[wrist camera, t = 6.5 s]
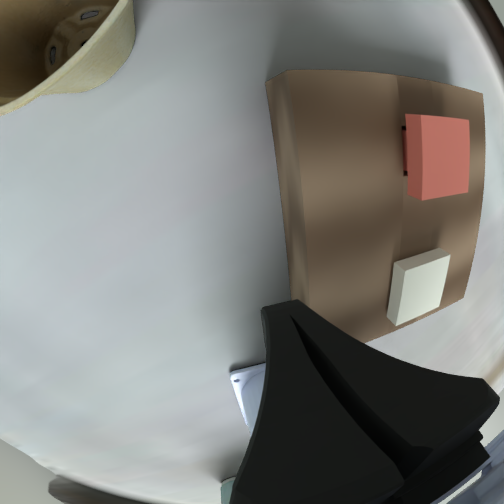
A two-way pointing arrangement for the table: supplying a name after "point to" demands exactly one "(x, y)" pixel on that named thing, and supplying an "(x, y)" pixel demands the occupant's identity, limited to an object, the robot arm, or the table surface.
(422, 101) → the panel
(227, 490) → the disposable coffee cup
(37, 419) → the table surface
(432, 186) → the red button
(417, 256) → the cream button
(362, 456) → the robot arm
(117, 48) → the flower pot
